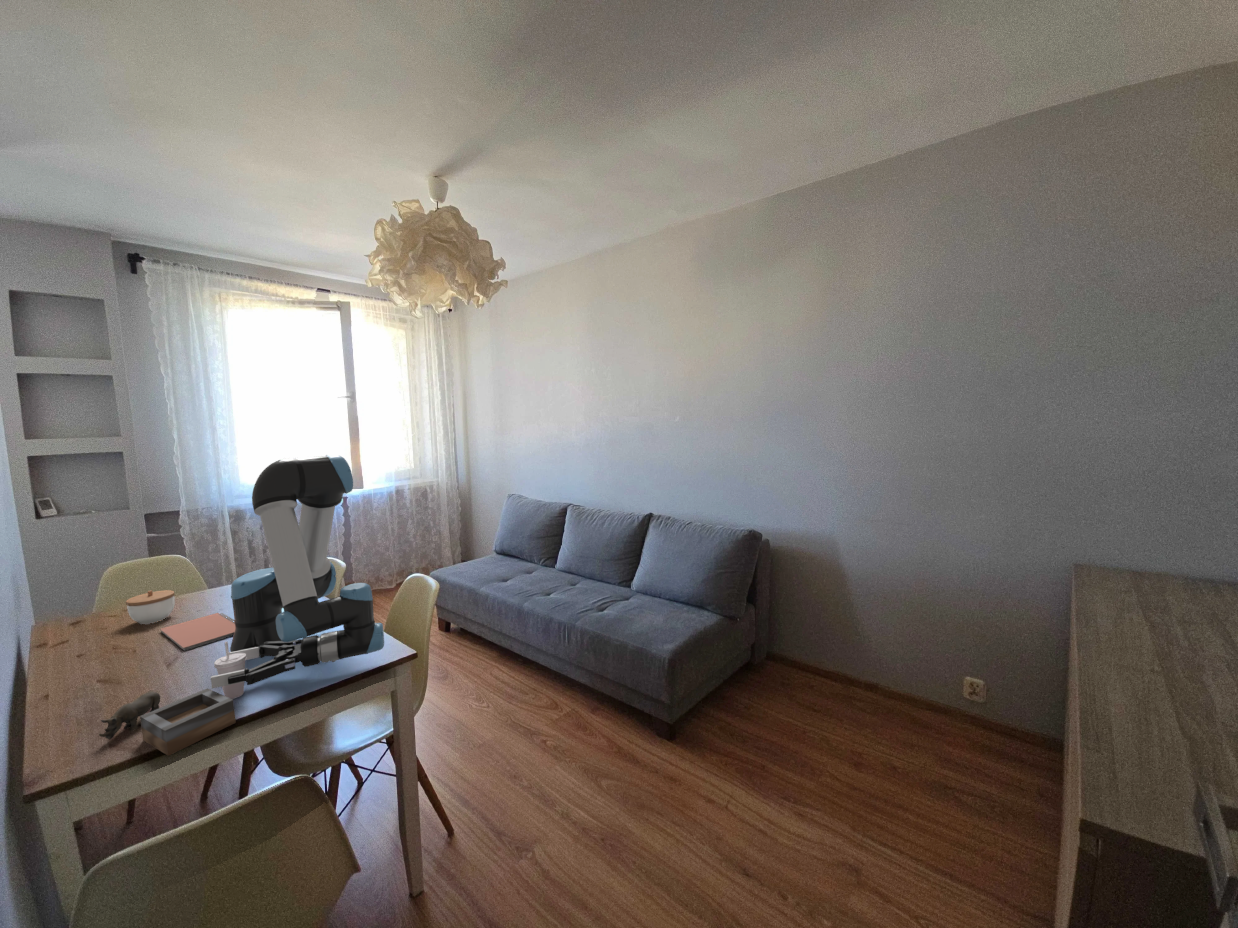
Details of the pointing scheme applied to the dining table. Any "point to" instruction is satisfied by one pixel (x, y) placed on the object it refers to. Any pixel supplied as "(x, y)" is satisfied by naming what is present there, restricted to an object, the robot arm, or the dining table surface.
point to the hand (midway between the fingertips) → (220, 669)
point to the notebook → (200, 630)
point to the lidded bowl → (151, 606)
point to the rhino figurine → (131, 713)
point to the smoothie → (230, 665)
